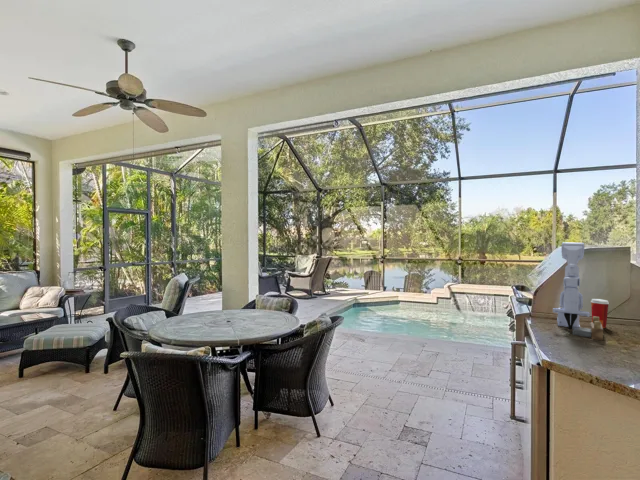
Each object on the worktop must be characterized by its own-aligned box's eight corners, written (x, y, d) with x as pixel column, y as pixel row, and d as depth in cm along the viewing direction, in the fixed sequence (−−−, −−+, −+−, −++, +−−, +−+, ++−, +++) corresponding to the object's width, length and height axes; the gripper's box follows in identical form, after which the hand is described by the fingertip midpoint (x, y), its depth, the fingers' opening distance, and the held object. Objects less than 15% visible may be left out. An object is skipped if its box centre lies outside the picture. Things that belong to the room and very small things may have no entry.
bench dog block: (591, 338, 160) (592, 321, 160) (590, 332, 172) (590, 315, 172) (602, 340, 158) (603, 323, 158) (600, 333, 170) (601, 317, 169)
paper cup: (601, 325, 186) (602, 298, 186) (612, 329, 178) (613, 301, 178) (586, 324, 187) (586, 298, 186) (595, 328, 179) (596, 301, 179)
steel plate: (572, 335, 167) (572, 329, 167) (572, 332, 173) (572, 326, 173) (590, 338, 163) (591, 331, 163) (590, 335, 168) (590, 328, 168)
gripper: (552, 300, 172) (552, 328, 172) (590, 304, 163) (589, 333, 163) (553, 298, 177) (552, 325, 178) (589, 302, 169) (588, 330, 169)
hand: (570, 329), depth 171 cm, fingers closed
